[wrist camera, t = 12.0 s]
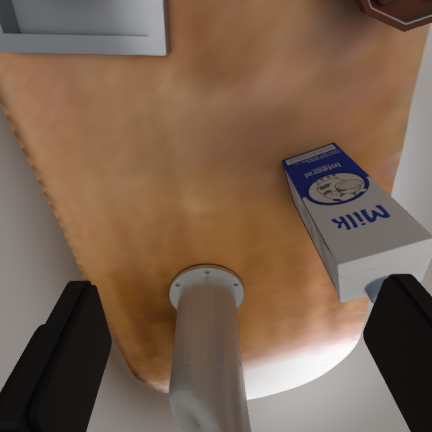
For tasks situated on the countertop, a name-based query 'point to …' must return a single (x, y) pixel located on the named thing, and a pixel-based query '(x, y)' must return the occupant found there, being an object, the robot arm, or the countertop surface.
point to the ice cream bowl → (399, 12)
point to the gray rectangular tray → (85, 27)
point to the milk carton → (355, 223)
